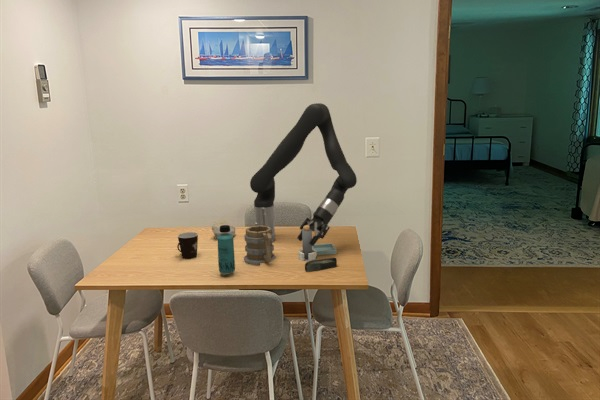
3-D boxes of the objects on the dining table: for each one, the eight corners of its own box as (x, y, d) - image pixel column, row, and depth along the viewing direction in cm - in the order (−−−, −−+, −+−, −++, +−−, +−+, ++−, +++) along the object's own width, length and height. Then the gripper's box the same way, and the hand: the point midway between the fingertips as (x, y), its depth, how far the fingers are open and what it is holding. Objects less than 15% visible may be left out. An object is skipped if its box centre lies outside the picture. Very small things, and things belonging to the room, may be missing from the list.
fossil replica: (240, 236, 236) (224, 235, 240) (238, 219, 235) (222, 219, 239) (226, 241, 225) (209, 240, 230) (224, 224, 224) (207, 223, 229)
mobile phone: (334, 255, 189) (300, 261, 183) (338, 258, 187) (304, 263, 180) (334, 267, 190) (300, 273, 184) (338, 270, 188) (304, 275, 181)
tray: (313, 257, 202) (313, 251, 201) (310, 249, 211) (310, 244, 211) (336, 256, 202) (336, 250, 202) (332, 248, 212) (332, 243, 212)
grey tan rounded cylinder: (303, 259, 196) (302, 227, 193) (302, 256, 200) (301, 225, 197) (312, 259, 196) (312, 227, 193) (311, 256, 200) (310, 224, 197)
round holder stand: (305, 264, 193) (305, 255, 192) (295, 259, 199) (294, 250, 198) (320, 260, 197) (320, 251, 197) (309, 255, 203) (309, 247, 203)
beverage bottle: (219, 272, 188) (216, 223, 183) (236, 271, 188) (233, 223, 184) (218, 278, 181) (214, 228, 177) (235, 277, 182) (232, 227, 177)
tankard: (241, 257, 203) (239, 224, 200) (269, 253, 208) (268, 220, 205) (254, 273, 185) (253, 237, 182) (284, 268, 190) (283, 232, 187)
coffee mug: (192, 252, 212) (191, 231, 210) (203, 256, 206) (201, 234, 204) (169, 258, 204) (167, 236, 202) (179, 263, 198) (177, 240, 196)
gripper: (310, 203, 203) (289, 233, 199) (331, 209, 192) (309, 241, 188) (320, 213, 208) (300, 243, 204) (341, 219, 196) (320, 251, 192)
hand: (304, 242), depth 196 cm, fingers open, 8 cm apart
